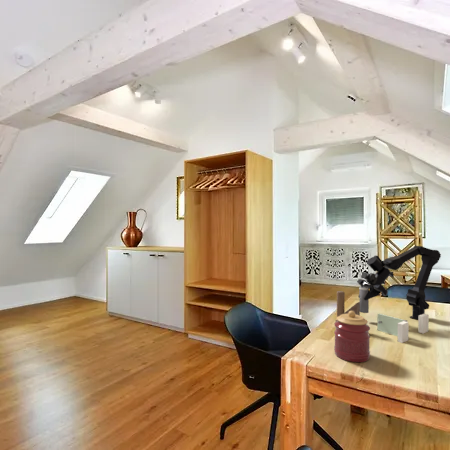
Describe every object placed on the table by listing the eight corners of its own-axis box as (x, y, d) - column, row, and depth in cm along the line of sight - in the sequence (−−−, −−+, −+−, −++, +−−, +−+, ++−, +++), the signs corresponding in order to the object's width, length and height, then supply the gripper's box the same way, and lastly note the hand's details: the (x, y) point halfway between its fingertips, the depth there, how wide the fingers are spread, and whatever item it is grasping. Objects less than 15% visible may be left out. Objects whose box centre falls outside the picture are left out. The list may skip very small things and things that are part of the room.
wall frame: (423, 329, 149) (424, 313, 149) (428, 331, 147) (428, 314, 147) (397, 341, 134) (397, 323, 134) (402, 342, 133) (402, 324, 133)
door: (407, 338, 138) (408, 320, 138) (404, 339, 136) (404, 321, 136) (379, 329, 149) (379, 313, 149) (375, 330, 148) (375, 314, 148)
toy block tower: (357, 332, 145) (357, 295, 145) (335, 327, 152) (335, 291, 152) (359, 330, 148) (360, 293, 148) (338, 325, 155) (338, 290, 155)
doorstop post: (362, 310, 165) (362, 286, 165) (370, 312, 161) (370, 287, 161) (357, 311, 162) (357, 287, 162) (365, 313, 159) (365, 288, 159)
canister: (352, 365, 111) (352, 317, 111) (327, 352, 123) (327, 308, 123) (377, 359, 116) (377, 313, 116) (351, 346, 128) (351, 305, 128)
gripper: (359, 264, 172) (342, 284, 170) (382, 269, 153) (362, 292, 151) (372, 278, 173) (355, 298, 171) (396, 284, 155) (376, 307, 153)
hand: (361, 298), depth 162 cm, fingers closed on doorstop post, 4 cm apart
